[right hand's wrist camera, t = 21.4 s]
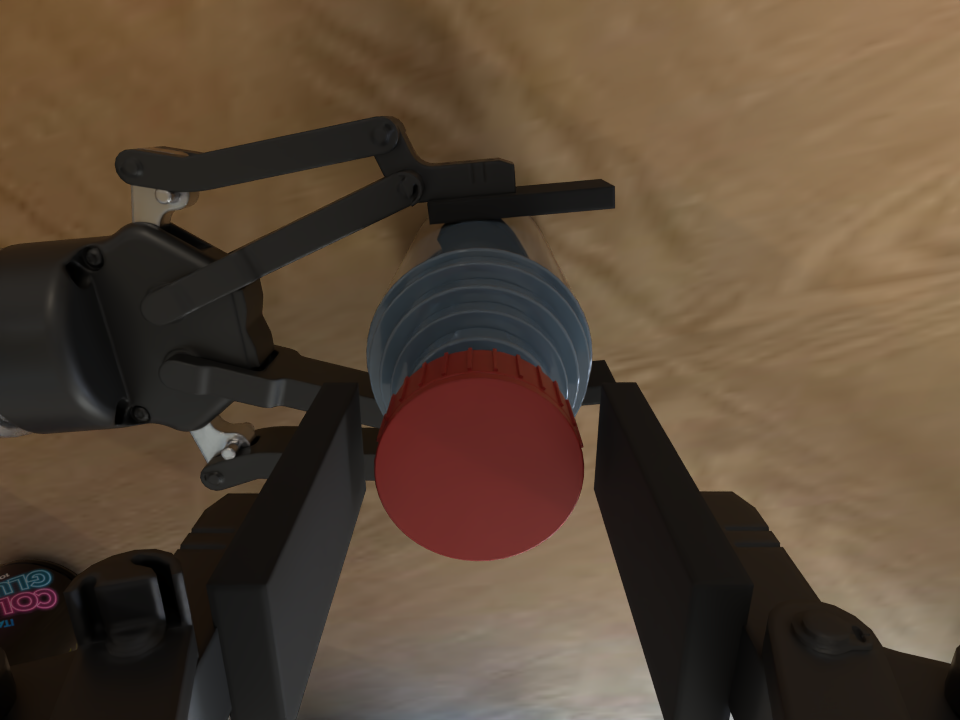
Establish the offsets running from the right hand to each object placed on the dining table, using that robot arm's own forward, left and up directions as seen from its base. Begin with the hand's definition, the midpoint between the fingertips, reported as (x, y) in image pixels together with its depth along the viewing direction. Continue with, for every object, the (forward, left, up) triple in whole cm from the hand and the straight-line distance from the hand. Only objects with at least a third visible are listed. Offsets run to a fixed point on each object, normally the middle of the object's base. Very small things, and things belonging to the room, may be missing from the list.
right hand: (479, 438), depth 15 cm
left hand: (+1, -5, -11) cm, 12 cm away
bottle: (0, 0, -18) cm, 18 cm away
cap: (0, 0, +1) cm, 1 cm away
